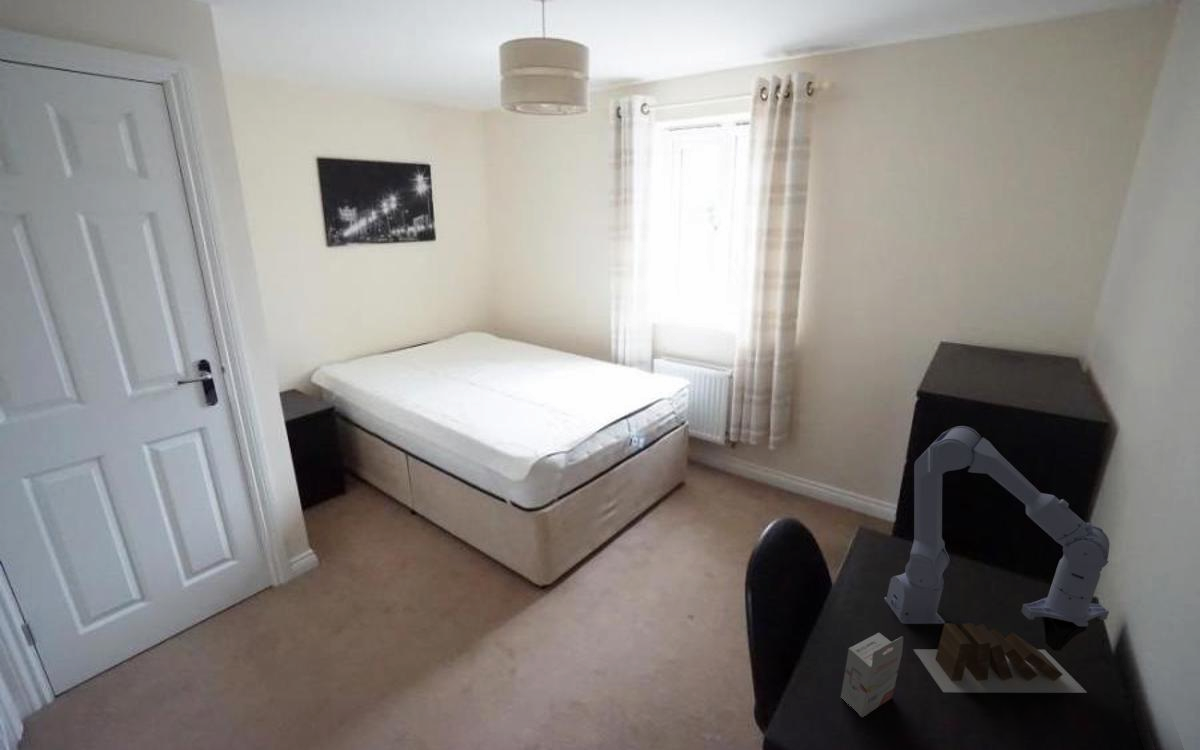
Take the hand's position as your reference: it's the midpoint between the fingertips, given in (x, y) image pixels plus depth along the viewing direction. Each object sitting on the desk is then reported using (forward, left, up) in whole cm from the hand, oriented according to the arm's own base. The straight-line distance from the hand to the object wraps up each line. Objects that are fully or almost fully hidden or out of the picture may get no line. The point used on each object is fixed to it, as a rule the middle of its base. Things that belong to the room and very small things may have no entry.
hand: (1052, 646), depth 102 cm
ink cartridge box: (-38, -6, -6) cm, 39 cm away
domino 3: (-9, 0, -5) cm, 11 cm away
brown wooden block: (+1, 0, -5) cm, 5 cm away
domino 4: (-4, 0, -5) cm, 7 cm away
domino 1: (-19, 0, -6) cm, 20 cm away
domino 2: (-14, 0, -6) cm, 15 cm away
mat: (-9, 0, -6) cm, 11 cm away
